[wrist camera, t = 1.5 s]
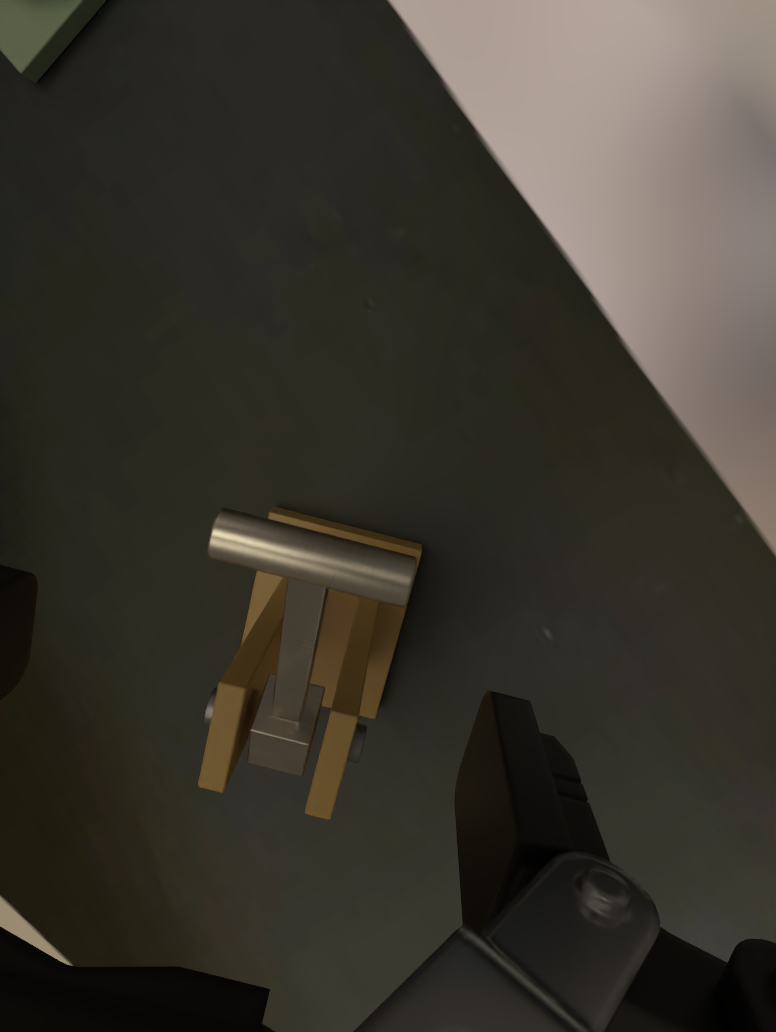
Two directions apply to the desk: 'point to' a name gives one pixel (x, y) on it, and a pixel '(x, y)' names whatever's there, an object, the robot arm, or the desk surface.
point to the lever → (302, 616)
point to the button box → (41, 31)
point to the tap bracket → (338, 667)
